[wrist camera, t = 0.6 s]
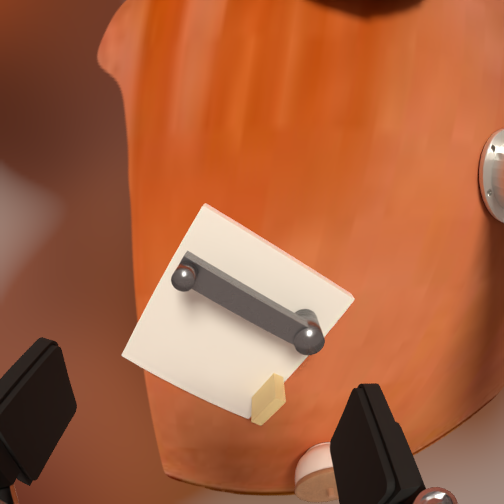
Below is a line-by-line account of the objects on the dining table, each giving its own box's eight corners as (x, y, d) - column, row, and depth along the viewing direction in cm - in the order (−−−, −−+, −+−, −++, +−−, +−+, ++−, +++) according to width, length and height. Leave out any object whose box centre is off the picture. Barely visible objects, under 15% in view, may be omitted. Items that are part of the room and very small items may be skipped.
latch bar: (322, 316, 34) (333, 347, 28) (306, 336, 35) (314, 369, 29) (193, 240, 32) (180, 260, 26) (179, 264, 32) (164, 288, 27)
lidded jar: (328, 472, 46) (335, 512, 38) (279, 461, 45) (281, 505, 36) (367, 440, 44) (380, 483, 35) (317, 427, 42) (326, 475, 33)
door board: (351, 293, 35) (367, 319, 29) (248, 411, 41) (247, 443, 35) (205, 202, 32) (194, 214, 26) (125, 349, 38) (108, 376, 32)
